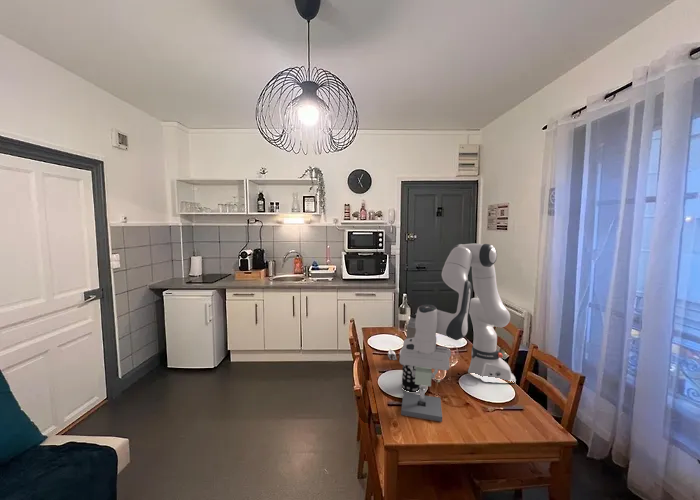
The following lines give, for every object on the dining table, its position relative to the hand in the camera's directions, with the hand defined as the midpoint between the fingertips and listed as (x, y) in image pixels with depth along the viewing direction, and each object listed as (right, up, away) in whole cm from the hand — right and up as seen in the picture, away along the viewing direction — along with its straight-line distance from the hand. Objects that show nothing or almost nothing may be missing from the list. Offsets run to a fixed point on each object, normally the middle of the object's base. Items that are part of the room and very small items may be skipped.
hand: (423, 376), depth 131 cm
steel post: (0, -13, +1) cm, 13 cm away
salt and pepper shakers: (-2, -10, +51) cm, 52 cm away
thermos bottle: (+4, -11, +41) cm, 43 cm away
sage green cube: (0, -2, 0) cm, 2 cm away
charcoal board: (0, -14, +1) cm, 14 cm away
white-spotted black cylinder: (-2, -13, +17) cm, 21 cm away
